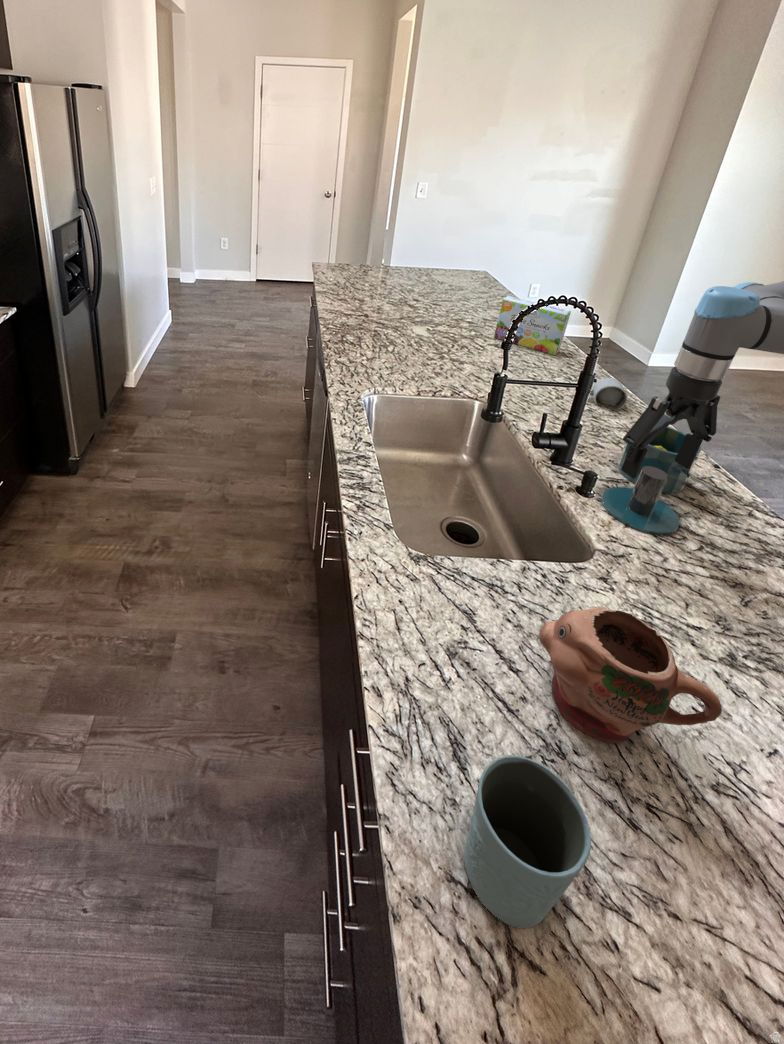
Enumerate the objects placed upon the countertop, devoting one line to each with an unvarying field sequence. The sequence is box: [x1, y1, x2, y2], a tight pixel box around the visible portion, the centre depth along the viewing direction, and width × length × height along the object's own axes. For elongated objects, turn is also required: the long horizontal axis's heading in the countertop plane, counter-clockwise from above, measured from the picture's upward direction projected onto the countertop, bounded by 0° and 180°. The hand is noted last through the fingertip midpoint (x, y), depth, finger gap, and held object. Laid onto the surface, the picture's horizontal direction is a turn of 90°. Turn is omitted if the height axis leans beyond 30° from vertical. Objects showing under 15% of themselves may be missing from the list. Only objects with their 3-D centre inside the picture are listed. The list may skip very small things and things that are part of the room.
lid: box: [600, 466, 680, 536], centre depth 108 cm, size 14×14×10 cm
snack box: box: [493, 295, 572, 356], centre depth 185 cm, size 21×6×15 cm, turn 49°
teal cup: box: [463, 754, 592, 929], centre depth 55 cm, size 10×10×12 cm
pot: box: [617, 426, 702, 495], centre depth 119 cm, size 13×13×10 cm
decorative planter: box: [538, 606, 723, 744], centre depth 70 cm, size 20×12×14 cm, turn 63°
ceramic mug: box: [587, 377, 628, 410], centre depth 150 cm, size 11×8×8 cm
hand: (655, 469), depth 105 cm, fingers open, 13 cm apart
